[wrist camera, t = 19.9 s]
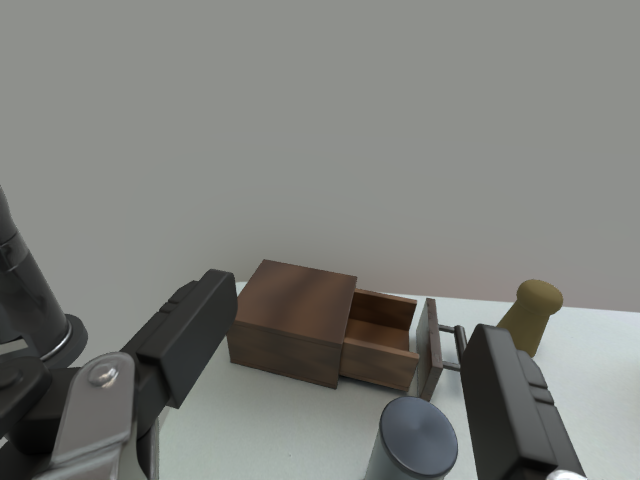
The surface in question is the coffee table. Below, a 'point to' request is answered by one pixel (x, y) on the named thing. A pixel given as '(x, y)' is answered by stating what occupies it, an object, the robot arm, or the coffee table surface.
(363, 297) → the drawer
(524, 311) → the pepper shaker
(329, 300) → the cabinet
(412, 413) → the slate tube
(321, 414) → the coffee table surface
